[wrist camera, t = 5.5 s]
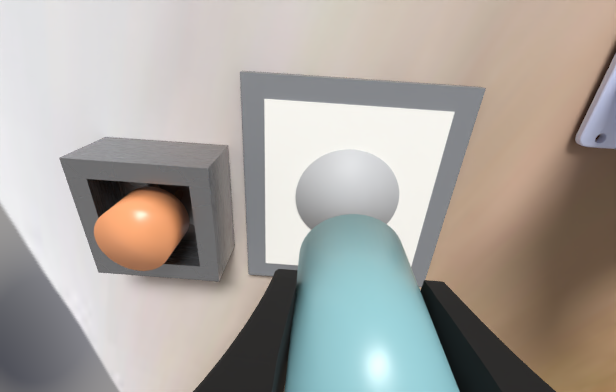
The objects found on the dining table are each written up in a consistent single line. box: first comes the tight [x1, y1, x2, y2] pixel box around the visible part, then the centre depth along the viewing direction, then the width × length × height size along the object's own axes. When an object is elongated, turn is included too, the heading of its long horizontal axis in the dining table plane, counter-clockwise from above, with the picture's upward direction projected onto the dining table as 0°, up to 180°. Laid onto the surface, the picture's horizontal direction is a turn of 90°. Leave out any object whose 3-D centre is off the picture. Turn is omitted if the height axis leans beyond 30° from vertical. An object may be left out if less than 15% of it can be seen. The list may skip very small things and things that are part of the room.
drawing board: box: [240, 71, 486, 287], centre depth 18 cm, size 12×13×1 cm
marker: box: [284, 214, 460, 392], centre depth 8 cm, size 4×4×8 cm
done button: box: [94, 187, 189, 271], centre depth 16 cm, size 4×4×2 cm
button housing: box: [59, 137, 235, 281], centre depth 17 cm, size 7×7×3 cm
